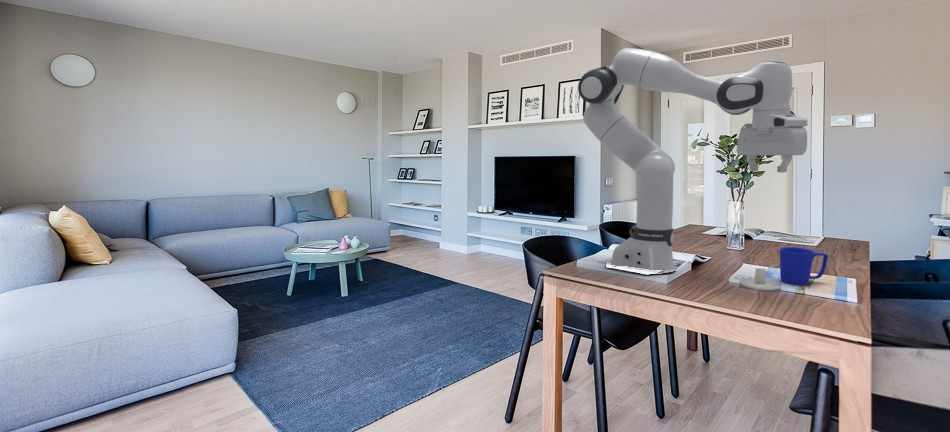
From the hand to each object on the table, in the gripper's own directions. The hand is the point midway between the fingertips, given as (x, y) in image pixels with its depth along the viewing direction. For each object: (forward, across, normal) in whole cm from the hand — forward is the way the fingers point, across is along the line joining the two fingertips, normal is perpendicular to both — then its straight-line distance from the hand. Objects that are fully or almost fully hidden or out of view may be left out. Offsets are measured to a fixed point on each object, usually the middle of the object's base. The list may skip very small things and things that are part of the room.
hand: (767, 171), depth 130 cm
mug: (+33, +2, +13) cm, 36 cm away
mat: (+33, +1, -1) cm, 33 cm away
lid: (+33, +1, -1) cm, 33 cm away
